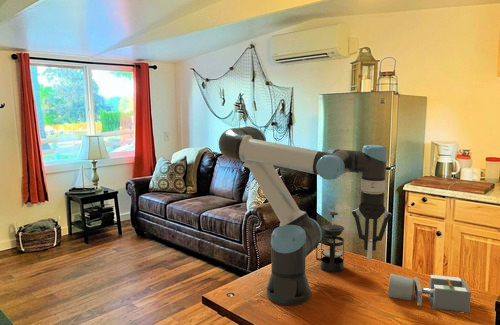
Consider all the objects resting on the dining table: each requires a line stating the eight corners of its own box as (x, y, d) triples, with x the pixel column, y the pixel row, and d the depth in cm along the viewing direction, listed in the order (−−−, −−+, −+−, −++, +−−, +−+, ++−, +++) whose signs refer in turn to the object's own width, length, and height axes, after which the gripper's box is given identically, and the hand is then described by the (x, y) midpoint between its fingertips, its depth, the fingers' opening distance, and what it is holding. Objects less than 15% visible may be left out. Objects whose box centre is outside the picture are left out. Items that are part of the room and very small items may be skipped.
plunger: (417, 305, 120) (418, 283, 119) (413, 289, 131) (414, 269, 130) (461, 310, 117) (462, 288, 116) (453, 294, 127) (454, 273, 126)
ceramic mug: (414, 305, 122) (415, 282, 121) (387, 300, 126) (388, 278, 125) (414, 291, 132) (415, 270, 131) (389, 287, 135) (390, 266, 134)
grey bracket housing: (432, 309, 120) (433, 287, 119) (427, 294, 129) (428, 274, 128) (469, 313, 116) (471, 291, 116) (461, 298, 126) (463, 277, 125)
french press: (345, 264, 155) (346, 210, 152) (345, 273, 146) (346, 216, 143) (317, 261, 158) (317, 208, 155) (315, 271, 149) (315, 215, 146)
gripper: (351, 192, 123) (349, 260, 127) (394, 195, 120) (390, 265, 123) (352, 188, 131) (350, 252, 134) (392, 190, 127) (389, 257, 130)
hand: (369, 258), depth 129 cm, fingers closed
